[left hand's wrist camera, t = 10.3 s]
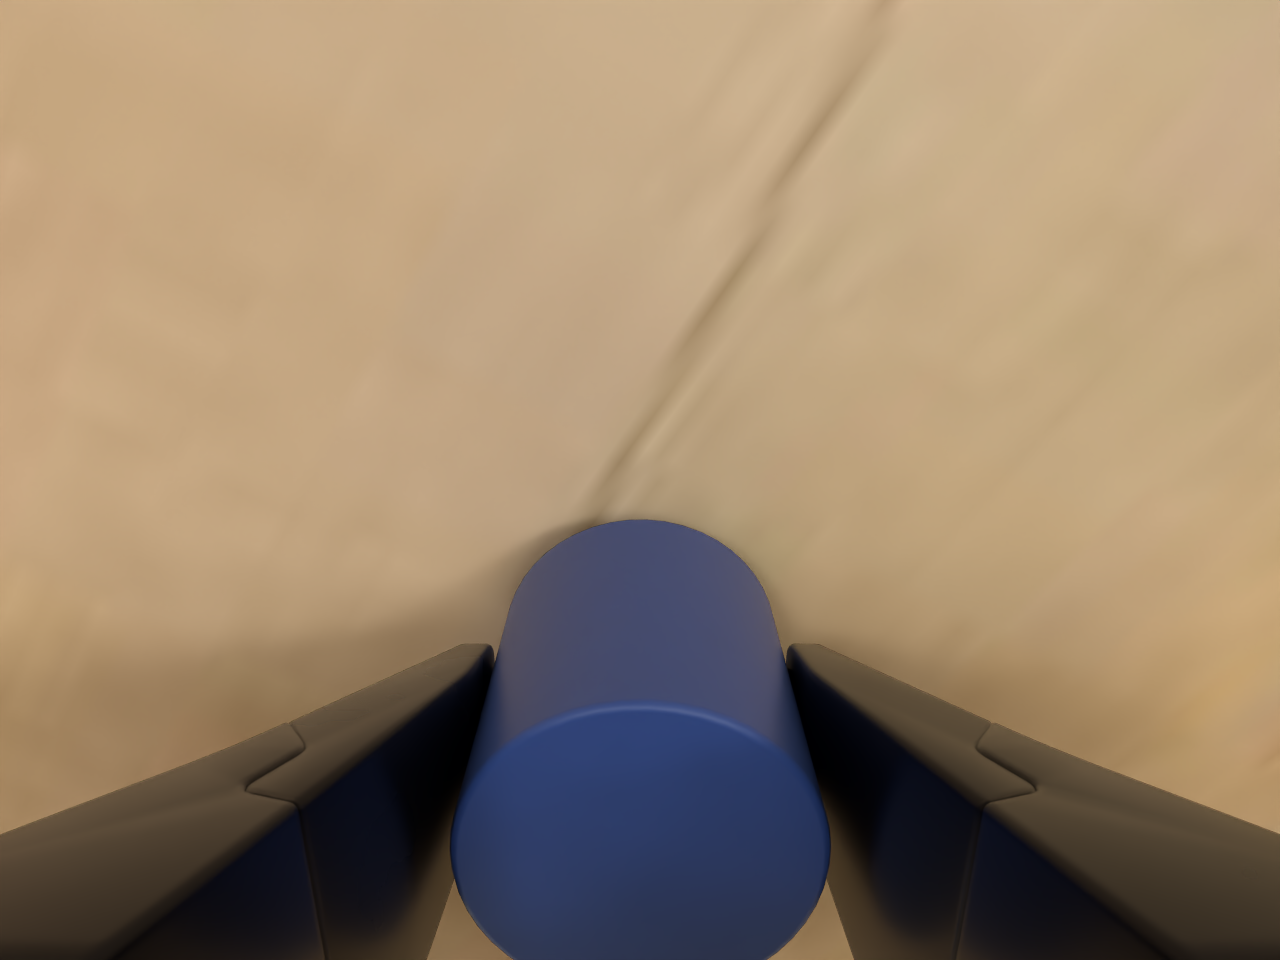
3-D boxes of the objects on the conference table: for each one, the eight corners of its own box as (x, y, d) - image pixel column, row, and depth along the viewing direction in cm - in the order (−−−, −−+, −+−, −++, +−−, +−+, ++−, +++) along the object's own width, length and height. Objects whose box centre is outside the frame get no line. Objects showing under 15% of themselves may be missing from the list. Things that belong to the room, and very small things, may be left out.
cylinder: (452, 609, 13) (368, 826, 9) (677, 464, 12) (694, 632, 8) (609, 787, 14) (597, 1050, 10) (823, 667, 13) (902, 901, 9)
